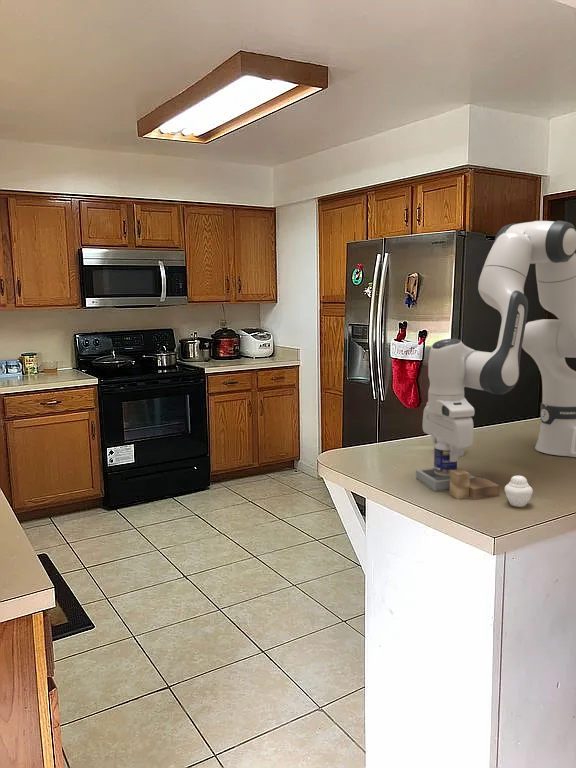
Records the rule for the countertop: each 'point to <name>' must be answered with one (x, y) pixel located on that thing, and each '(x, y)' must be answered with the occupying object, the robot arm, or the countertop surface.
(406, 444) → the countertop surface
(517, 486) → the white lidded jar
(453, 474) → the block
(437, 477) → the tray
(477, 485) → the brown flat block
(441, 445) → the pill bottle
